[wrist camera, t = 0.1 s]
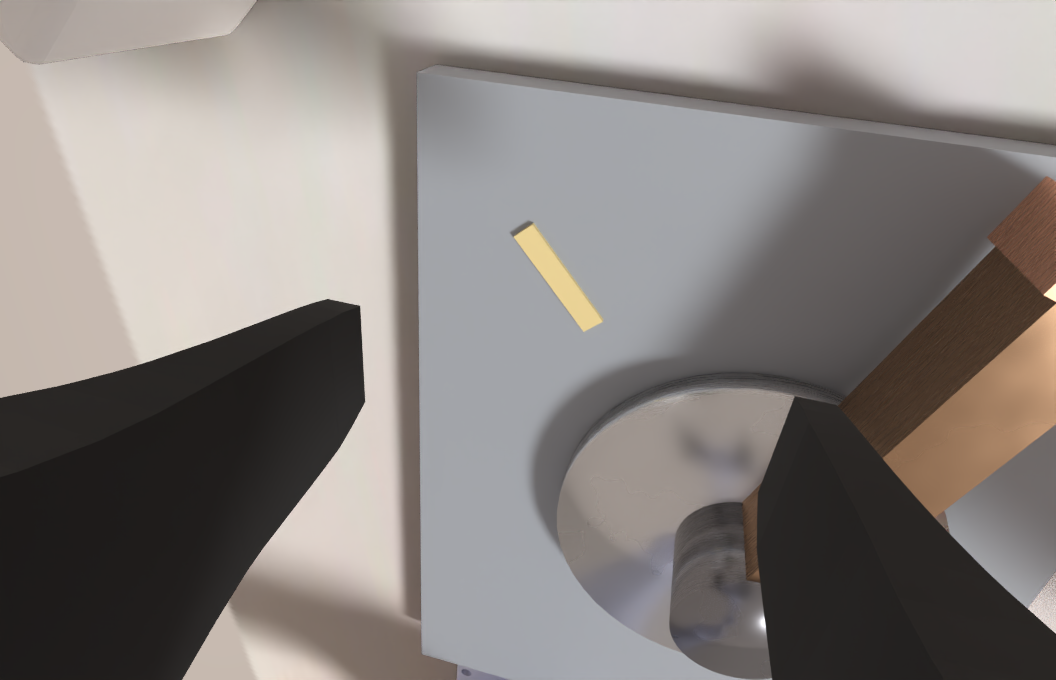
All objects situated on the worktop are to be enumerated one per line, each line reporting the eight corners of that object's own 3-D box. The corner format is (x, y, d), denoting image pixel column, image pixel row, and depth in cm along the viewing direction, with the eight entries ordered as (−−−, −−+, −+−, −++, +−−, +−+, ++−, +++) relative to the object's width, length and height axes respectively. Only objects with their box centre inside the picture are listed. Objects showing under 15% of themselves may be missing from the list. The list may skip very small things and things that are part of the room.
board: (881, 752, 29) (889, 792, 27) (433, 626, 32) (420, 657, 31) (1291, 175, 15) (1349, 198, 14) (436, 64, 18) (414, 73, 17)
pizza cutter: (780, 680, 25) (792, 802, 22) (511, 539, 25) (477, 638, 21) (1295, 312, 15) (1486, 427, 11) (845, 61, 15) (889, 96, 11)
